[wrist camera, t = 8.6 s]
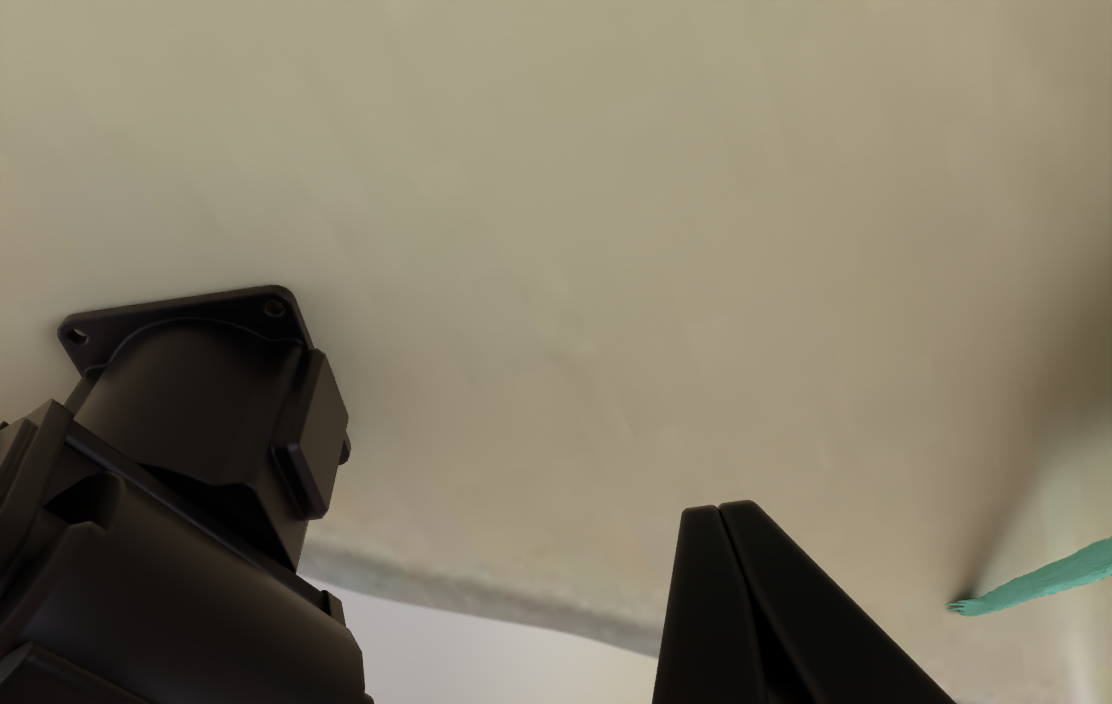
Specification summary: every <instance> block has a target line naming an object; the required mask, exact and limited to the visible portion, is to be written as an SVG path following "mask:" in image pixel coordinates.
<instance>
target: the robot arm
mask: <svg viewBox="0 0 1112 704" xmlns="http://www.w3.org/2000/svg"><path fill="white" fill-rule="evenodd" d="M270 300H274V301H278V302H280V303H281V304H282V305H283V307H282V308H275V307H273V306H271V305H270V304H269V302H268V301H270ZM74 329H76V330H80V331H82V332H83V333H84V334H85V335H86V336H81V335H79V334H77V333H76V332H75V331H74ZM57 335H58V338H59V340H60V342H61V343H62V345H63V347H64V348H65V350H66V352H67V353H68V355H69V357H70V358H71V360H72V361H73V363H74V365H75V366H76V368H77V370H78V371H79V373H80V375H81V376H82V379H81V380H80V382H79V383H78V385H77V386H76V388H75V389H74V391H73V392H72V393H71V395H70V396H69V398H68V399H67V401H66V402H65V404H64V405H63V406H62V405H61V404H60V403H58V402H57V401H55V400H54V399H50V400H49V401H47V402H46V403H44V404H43V405H42V406H40V407H39V408H38V409H36V410H35V411H33V412H32V413H31V414H29V415H28V416H27V417H23V418H21V419H19V420H17V421H16V422H14V423H12V424H11V425H9V424H8V423H6V422H5V421H3V422H1V423H0V704H374V700H373V699H372V697H371V696H369V695H368V694H366V693H364V692H365V682H364V670H363V658H362V651H361V649H360V648H359V646H358V644H357V642H356V641H355V639H354V637H353V635H352V633H351V631H350V630H349V629H348V628H346V624H345V619H344V613H343V608H342V602H341V601H340V600H339V599H338V598H336V597H335V596H333V595H332V594H331V593H329V592H328V591H326V590H323V591H319V590H318V589H316V588H315V587H313V586H312V585H310V584H309V583H308V582H306V581H305V580H303V579H302V578H300V577H299V576H298V575H296V571H297V567H298V563H299V559H300V555H301V550H302V546H303V542H304V538H305V534H306V530H307V526H308V522H309V520H316V519H322V518H323V516H324V515H325V514H326V512H327V511H328V509H329V504H330V500H331V495H332V491H333V486H334V482H335V477H336V473H337V468H338V465H341V464H344V463H345V462H346V461H347V460H348V458H349V455H350V451H351V443H350V441H349V438H348V435H347V433H346V427H347V423H348V413H347V411H346V408H345V405H344V403H343V400H342V397H341V395H340V392H339V389H338V386H337V384H336V381H335V378H334V376H333V373H332V370H331V368H330V365H329V362H328V360H327V357H326V355H325V354H324V353H323V352H321V351H320V350H319V349H317V348H315V349H314V346H313V343H312V341H311V338H310V335H309V333H308V330H307V328H306V325H305V322H304V320H303V317H302V314H301V312H300V309H299V307H298V304H297V301H296V299H295V297H294V295H293V294H292V292H291V291H289V290H288V289H287V288H285V287H282V286H279V285H269V286H262V287H255V288H248V289H241V290H234V291H228V292H221V293H214V294H207V295H200V296H193V297H187V298H180V299H173V300H166V301H159V302H152V303H146V304H139V305H132V306H125V307H118V308H111V309H105V310H98V311H91V312H84V313H77V314H73V315H70V316H68V317H67V318H66V319H65V320H64V321H63V322H62V324H61V325H60V326H59V328H58V331H57ZM652 704H956V703H955V702H954V701H953V700H952V699H951V698H950V697H949V696H948V695H947V694H946V693H945V692H944V691H943V690H942V689H941V688H940V687H939V686H938V685H937V684H936V683H935V682H934V681H933V680H932V679H931V678H930V677H929V676H928V675H927V674H926V673H925V672H924V671H923V670H922V669H921V668H920V667H919V666H918V665H917V664H916V663H915V662H914V661H913V660H912V659H911V658H910V657H909V656H908V655H907V654H906V653H905V652H904V651H903V650H902V649H901V648H900V647H899V646H898V645H897V644H896V643H895V642H894V641H893V640H892V639H891V638H890V637H889V636H888V635H887V634H886V633H885V632H884V631H883V630H882V629H881V628H880V627H879V626H878V625H877V624H876V623H875V622H874V621H873V620H872V619H871V618H870V617H869V616H868V615H867V614H866V613H865V612H864V611H863V610H862V609H861V608H860V607H859V606H858V605H857V604H856V603H855V602H854V601H853V600H852V599H851V598H850V597H849V596H848V595H847V594H846V593H845V592H844V591H843V590H842V589H841V588H840V587H839V586H838V585H837V584H836V583H835V582H834V581H833V580H832V579H831V578H830V577H829V576H828V575H827V574H826V573H825V572H824V571H823V570H822V569H821V568H820V567H819V566H818V565H817V564H816V563H815V562H814V561H813V560H812V559H811V558H810V557H809V556H808V555H807V554H806V553H805V552H804V551H803V550H802V549H801V548H800V547H799V546H798V545H797V544H796V543H795V542H794V541H793V540H792V539H791V538H790V537H789V536H788V535H787V534H786V533H785V532H784V531H783V530H782V529H781V528H780V527H779V526H778V525H777V524H776V523H775V522H774V521H773V520H772V519H771V518H770V517H769V516H768V515H767V514H766V513H765V512H764V511H763V510H762V509H761V508H760V507H759V506H758V505H757V504H756V503H755V502H753V501H751V500H742V501H735V502H728V503H722V504H721V505H719V507H718V509H717V507H716V506H714V505H706V506H699V507H692V508H686V509H685V510H684V511H683V512H682V516H681V522H680V528H679V534H678V541H677V547H676V553H675V560H674V566H673V572H672V579H671V585H670V591H669V598H668V604H667V610H666V617H665V623H664V629H663V636H662V642H661V648H660V655H659V661H658V667H657V674H656V681H655V687H654V693H653V699H652Z"/></svg>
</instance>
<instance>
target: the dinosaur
mask: <svg viewBox="0 0 1112 704" xmlns="http://www.w3.org/2000/svg"><path fill="white" fill-rule="evenodd" d="M1110 575H1112V537H1110V538H1108V539H1104V540H1101V541H1097V542H1094V543H1092V544H1090V545H1089V546H1087V547H1085V548H1083V549H1081V550H1079V551H1078V552H1076V553H1075V554H1073V555H1071V556H1068V557H1066V558H1064V559H1061V560H1059V561H1056V562H1053V563H1050V564H1048V565H1046V566H1044V567H1042V568H1039V569H1038V570H1036V571H1034V572H1031V573H1028V574H1026V575H1023V576H1021V577H1018V578H1015V579H1013V580H1011V581H1009V582H1008V583H1006V584H1004V585H1001V586H1000V587H998V588H997V589H995V590H994V591H991V592H989V593H987V594H986V595H984V596H982V597H980V598H977V599H969V600H961V601H957V602H963V603H948V604H945V605H960V606H963V607H956V608H950V609H947V610H960V611H959V614H961V615H964V616H978V615H982V614H987V613H991V612H993V611H1000V610H1003V609H1005V608H1008V607H1011V606H1015V605H1017V604H1019V603H1021V602H1025V601H1028V600H1031V599H1034V598H1037V597H1042V596H1045V595H1050V594H1055V593H1057V592H1059V591H1063V590H1067V589H1070V588H1072V587H1075V586H1079V585H1085V584H1089V583H1092V582H1095V581H1097V580H1100V579H1104V578H1105V577H1108V576H1110Z"/></svg>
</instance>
